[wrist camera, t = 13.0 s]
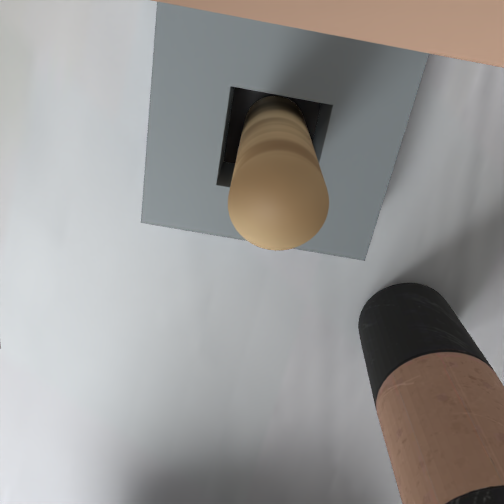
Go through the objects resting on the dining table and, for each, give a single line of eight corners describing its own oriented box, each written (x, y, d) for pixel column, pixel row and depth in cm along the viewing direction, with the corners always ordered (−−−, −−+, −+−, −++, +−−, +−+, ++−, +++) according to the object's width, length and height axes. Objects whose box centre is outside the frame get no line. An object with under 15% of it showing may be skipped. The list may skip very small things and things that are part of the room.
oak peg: (297, 162, 33) (315, 257, 20) (239, 151, 32) (220, 241, 20) (311, 101, 31) (340, 165, 18) (249, 90, 31) (236, 146, 18)
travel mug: (431, 262, 36) (595, 516, 18) (467, 336, 38) (641, 619, 20) (337, 306, 38) (399, 574, 20) (378, 373, 40) (466, 661, 22)
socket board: (352, 228, 35) (364, 260, 30) (157, 194, 34) (140, 222, 29) (450, -111, 26) (488, -137, 21) (189, -165, 25) (172, -203, 21)
